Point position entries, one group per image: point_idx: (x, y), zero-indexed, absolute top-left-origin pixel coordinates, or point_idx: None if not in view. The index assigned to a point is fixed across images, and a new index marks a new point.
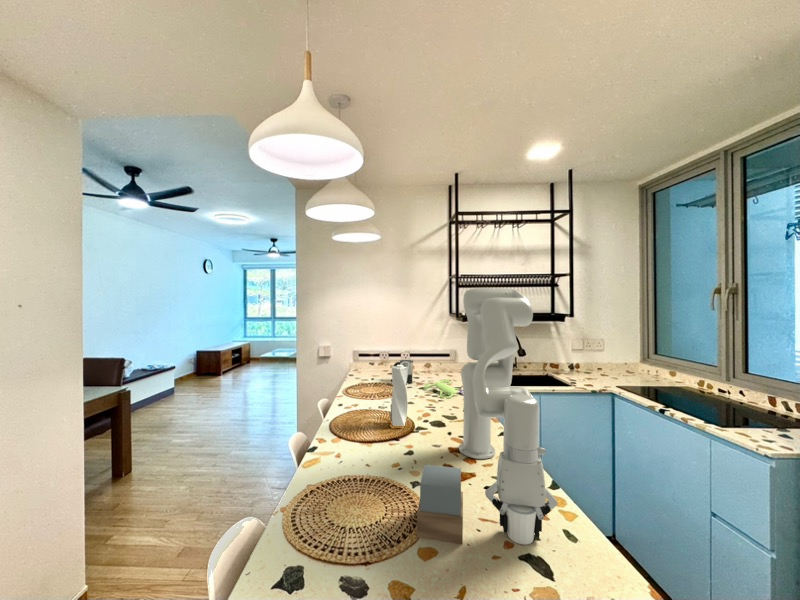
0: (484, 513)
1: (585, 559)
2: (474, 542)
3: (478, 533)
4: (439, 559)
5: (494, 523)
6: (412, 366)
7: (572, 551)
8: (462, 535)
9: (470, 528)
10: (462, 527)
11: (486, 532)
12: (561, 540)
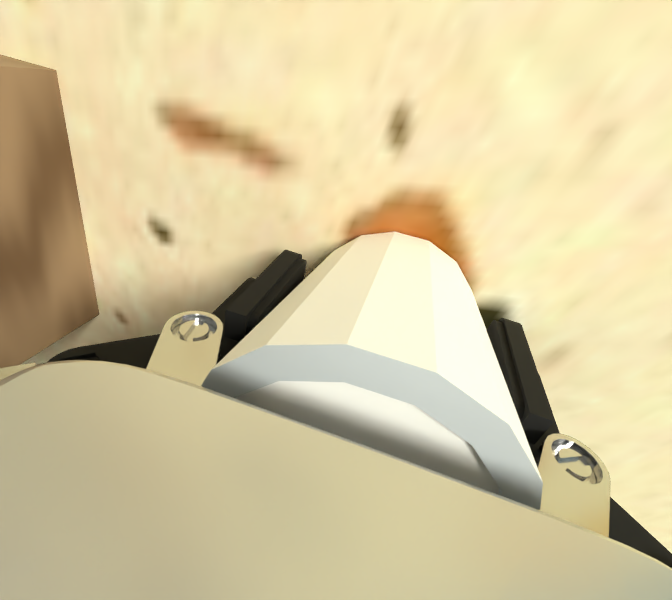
0: (205, 39)
1: (654, 491)
2: (145, 311)
3: (161, 257)
4: (40, 362)
5: (261, 177)
6: None
7: (634, 446)
8: (62, 335)
9: (119, 214)
10: (22, 361)
11: (202, 255)
12: (652, 377)
